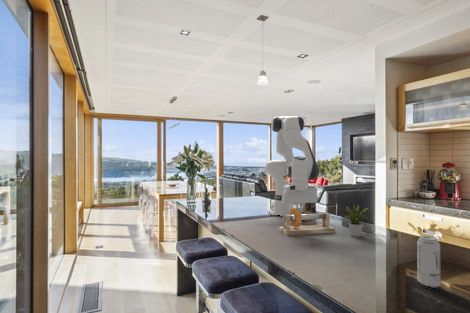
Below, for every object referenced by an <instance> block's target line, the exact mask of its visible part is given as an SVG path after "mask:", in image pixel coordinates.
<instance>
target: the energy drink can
mask: <svg viewBox="0 0 470 313" xmlns="http://www.w3.org/2000/svg"><path fill="white" fill-rule="evenodd" d="M416 241H417V242H416V247H417V248H416V252H417V253H416V258H417V259H416V260H417V261H416V262H417V263H416V265H417V266H416V267H417V272H416V274H417V275H416V276H417V282H420V283H421V284H423V285H425V286H431V287H438V288H439V287H440V286H441V243H440V242H439V239H438V238H437V237H435V236H432V235H419V238H418V239H417V240H416Z"/></svg>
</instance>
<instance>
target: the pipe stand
mask: <svg viewBox="0 0 470 313" xmlns="http://www.w3.org/2000/svg"><path fill="white" fill-rule="evenodd" d="M321 213H325V215H326V218H325V219H321V220H322V221H321V222H322V223H316V224H301V225H300V227H296V228H295V227H293V226H291V223H290V216H289V215H287V214H283V216H282V226H281V225H280V226H278V231H279V232H281V233H282V234H284V235H285V236H287V237H289V236H290V237H291V236H305V235H319V234H331V233H332V234H333V233H336V228H335V227H332V226H331V224H330V218H331V217H330V213H329V212H321ZM284 216H285V217H284ZM285 218H286V220H284V219H285Z"/></svg>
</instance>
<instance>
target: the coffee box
mask: <svg viewBox="0 0 470 313" xmlns="http://www.w3.org/2000/svg"><path fill="white" fill-rule="evenodd" d="M316 205H317V202H316V203H305V206H304V208H303V211H302V212H300V213H301V214H316V213H317V206H316ZM300 207H301V203H299V208H300ZM312 224H317V219H307V220H302V223H301V225H312Z"/></svg>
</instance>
